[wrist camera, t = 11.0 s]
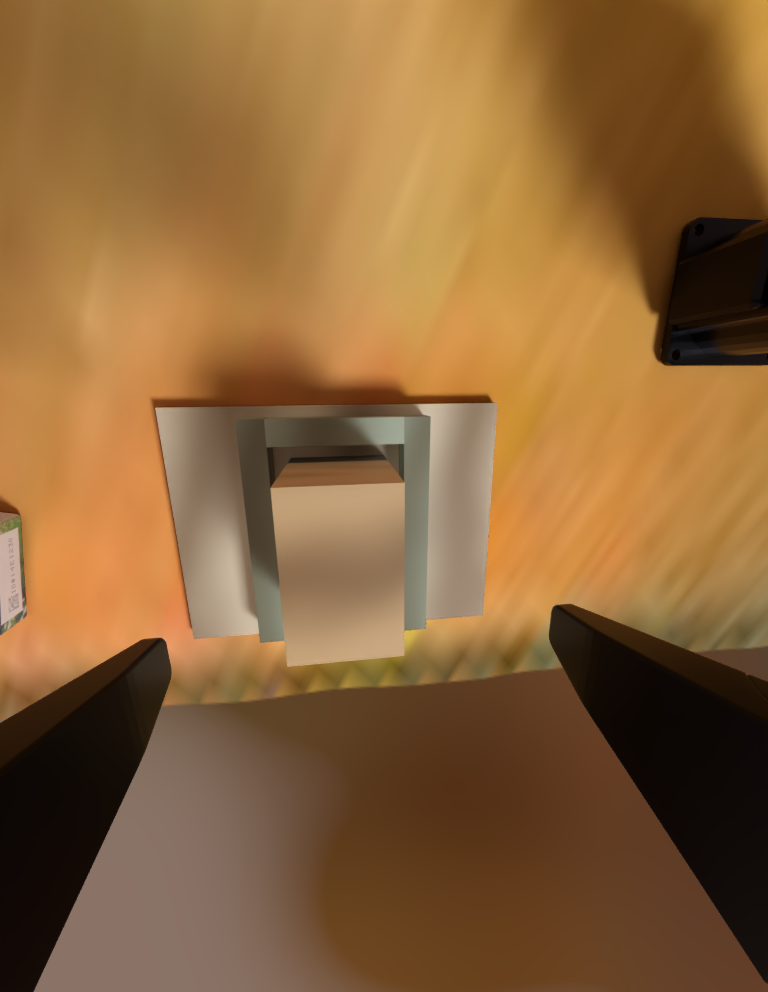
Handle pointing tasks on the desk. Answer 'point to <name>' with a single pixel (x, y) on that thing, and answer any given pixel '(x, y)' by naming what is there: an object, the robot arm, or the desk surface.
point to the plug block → (340, 558)
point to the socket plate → (325, 433)
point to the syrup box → (11, 572)
